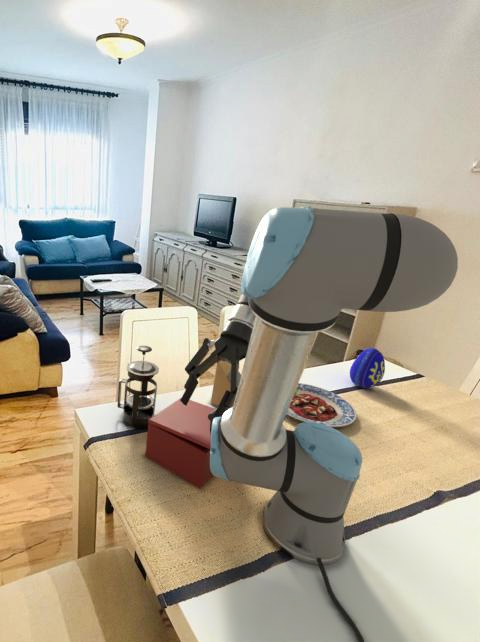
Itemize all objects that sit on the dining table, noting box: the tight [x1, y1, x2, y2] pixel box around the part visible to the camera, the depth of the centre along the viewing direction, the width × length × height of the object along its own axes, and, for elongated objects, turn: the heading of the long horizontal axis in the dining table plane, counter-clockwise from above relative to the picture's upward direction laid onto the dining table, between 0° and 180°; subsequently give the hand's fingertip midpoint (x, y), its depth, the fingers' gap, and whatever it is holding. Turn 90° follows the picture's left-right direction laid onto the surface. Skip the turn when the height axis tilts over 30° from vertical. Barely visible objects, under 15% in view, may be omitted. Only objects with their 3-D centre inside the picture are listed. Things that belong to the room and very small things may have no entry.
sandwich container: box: [210, 360, 242, 409], centre depth 119 cm, size 9×15×15 cm, turn 58°
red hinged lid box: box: [144, 423, 214, 490], centre depth 96 cm, size 16×15×10 cm
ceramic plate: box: [286, 382, 357, 428], centre depth 123 cm, size 26×26×3 cm
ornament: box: [349, 347, 386, 390], centre depth 137 cm, size 11×9×15 cm
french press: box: [117, 345, 160, 430], centre depth 108 cm, size 12×9×23 cm
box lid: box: [149, 397, 228, 449], centre depth 93 cm, size 17×15×6 cm
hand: (199, 410), depth 88 cm, fingers open, 8 cm apart
